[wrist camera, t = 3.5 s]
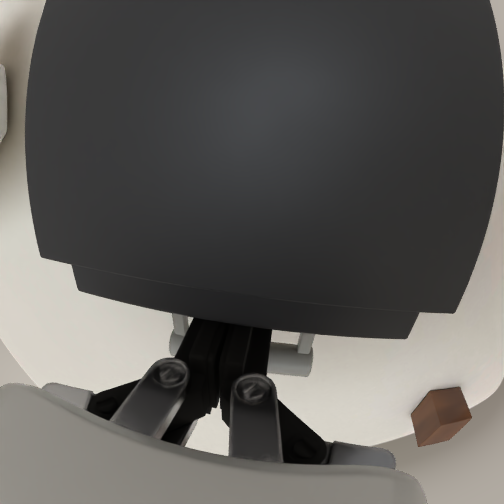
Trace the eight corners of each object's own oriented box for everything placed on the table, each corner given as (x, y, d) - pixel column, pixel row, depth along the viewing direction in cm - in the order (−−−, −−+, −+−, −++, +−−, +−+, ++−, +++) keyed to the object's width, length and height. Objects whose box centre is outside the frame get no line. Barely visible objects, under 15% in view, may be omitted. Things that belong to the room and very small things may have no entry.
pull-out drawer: (338, 323, 17) (353, 427, 10) (168, 300, 18) (113, 385, 11) (382, 13, 8) (441, -55, 1) (174, 3, 10) (96, -56, 3)
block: (460, 386, 20) (472, 417, 15) (440, 410, 22) (449, 440, 17) (429, 390, 20) (441, 425, 16) (410, 414, 22) (417, 447, 18)
